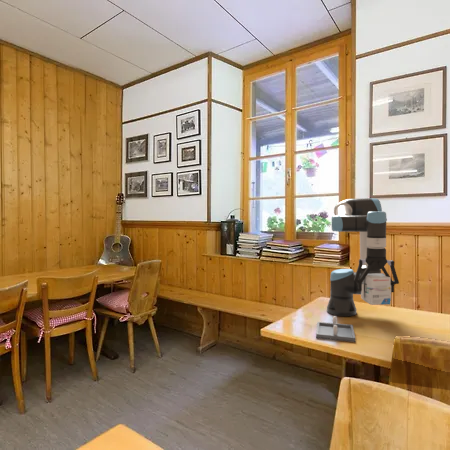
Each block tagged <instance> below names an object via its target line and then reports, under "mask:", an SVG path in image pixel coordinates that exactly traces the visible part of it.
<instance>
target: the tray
mask: <svg viewBox="0 0 450 450" xmlns="http://www.w3.org/2000/svg"><path fill="white" fill-rule="evenodd" d="M337 317H338V316H337V315H333V316H332V322H327V321H326V322H324V321H323V322H322V321H317V322H316V333H315V337H316V339H320V340H321V339H323V340H330V341H331V340H332V341H333V340H334V341H341V342H350V343H351V342H352V343H356V334H355V330H354V325H353V324H349V323H348V324H347V323H338V322H337V319H338V318H337Z"/></svg>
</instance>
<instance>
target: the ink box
mask: <svg viewBox="0 0 450 450" xmlns="http://www.w3.org/2000/svg"><path fill="white" fill-rule="evenodd" d="M381 273H382V272H381ZM381 273H375V274H367V276H366V277H365V279H364V280H363V282H362V283H364V299H362V301H364V302H365V303H367V304H369V305H372V306H373V305H374V306H376V305H377V306H378V305H379V306H380V305H391V301H390V287H391V279H392V277H391V276H390V277H387V276H386V275H385V274H384V273H383V274H384V275H383V274H381Z"/></svg>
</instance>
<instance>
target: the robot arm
mask: <svg viewBox="0 0 450 450" xmlns="http://www.w3.org/2000/svg"><path fill="white" fill-rule="evenodd" d="M382 209H383V208H382V203H381V201H380V199H378V198H372V197H367V198H346V199H343V200H342V201H339V202H338V203H337V204H335V206H334V208H333V213H334V215H332V217H331V231H332V232H338V233H342V232H343V233H346V232H354V233H355V232H356V233H357V232H359V259H358V266H357V269H356V271H355V272H354V269H351V268H340V269H334V270H332V271H331V273H330V278H329V281H330V285H329V286H330V297H329V300H328V302H327V303H328V304H327V306H326V312H327V313H328V314H330V315H333V316H336V317H353V316H356V315H357V306H356V303H355V301H354V295H360V298H361V299H362V300H363V299H364V283H362V282H363V280H364V279H365V277H366V276H367V274H375V273H381V274H383V275H386V276H387V277H391V276H390V275H389V272H388V271H387V269H386V267H385V266H386V265H388V266H389V268H390V271H391V274H392V277H393V278H391V287H390V302H391V301H392V293H394V292H395V285H399V284H400V282H399V279H398V275H397V271H396V268H395V261H394V260H392V259H391V260H390V259H387V249H386V247H387V221H388V219H387V212H386V211H383V210H382ZM382 272H383V273H382Z"/></svg>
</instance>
